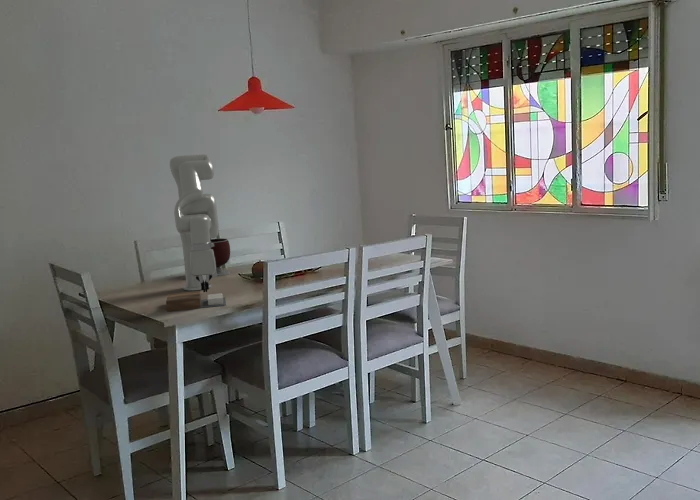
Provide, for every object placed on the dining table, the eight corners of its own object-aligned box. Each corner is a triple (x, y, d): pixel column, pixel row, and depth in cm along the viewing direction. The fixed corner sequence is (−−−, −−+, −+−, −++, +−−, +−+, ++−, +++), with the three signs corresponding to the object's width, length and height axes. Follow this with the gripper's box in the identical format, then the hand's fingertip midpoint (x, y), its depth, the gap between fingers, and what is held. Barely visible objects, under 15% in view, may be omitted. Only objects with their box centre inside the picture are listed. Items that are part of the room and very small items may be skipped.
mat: (201, 300, 286) (201, 299, 286) (225, 298, 288) (225, 297, 288) (200, 308, 272) (200, 307, 272) (225, 305, 274) (225, 304, 274)
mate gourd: (237, 271, 348) (234, 232, 345) (222, 276, 336) (218, 236, 332) (211, 270, 354) (208, 232, 351) (195, 276, 341) (192, 236, 338)
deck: (169, 303, 283) (168, 294, 283) (201, 300, 286) (200, 291, 285) (167, 311, 270) (166, 301, 269) (200, 308, 272) (199, 298, 272)
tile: (222, 293, 284) (222, 299, 285) (207, 294, 283) (208, 300, 284) (222, 297, 276) (223, 303, 276) (207, 299, 275) (208, 305, 275)
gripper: (220, 244, 281) (223, 288, 284) (182, 247, 278) (187, 291, 281) (220, 246, 273) (224, 291, 276) (181, 250, 271) (186, 295, 274)
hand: (205, 291), depth 279 cm, fingers closed
